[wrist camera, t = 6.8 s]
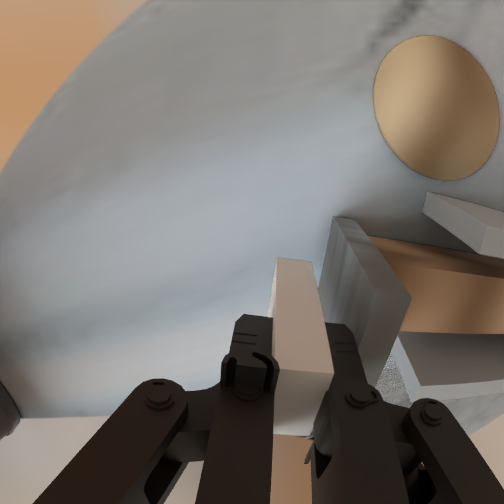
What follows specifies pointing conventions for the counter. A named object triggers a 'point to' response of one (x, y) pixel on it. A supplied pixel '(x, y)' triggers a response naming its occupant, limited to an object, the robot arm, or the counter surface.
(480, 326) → the sliding block
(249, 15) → the counter surface
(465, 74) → the coaster
